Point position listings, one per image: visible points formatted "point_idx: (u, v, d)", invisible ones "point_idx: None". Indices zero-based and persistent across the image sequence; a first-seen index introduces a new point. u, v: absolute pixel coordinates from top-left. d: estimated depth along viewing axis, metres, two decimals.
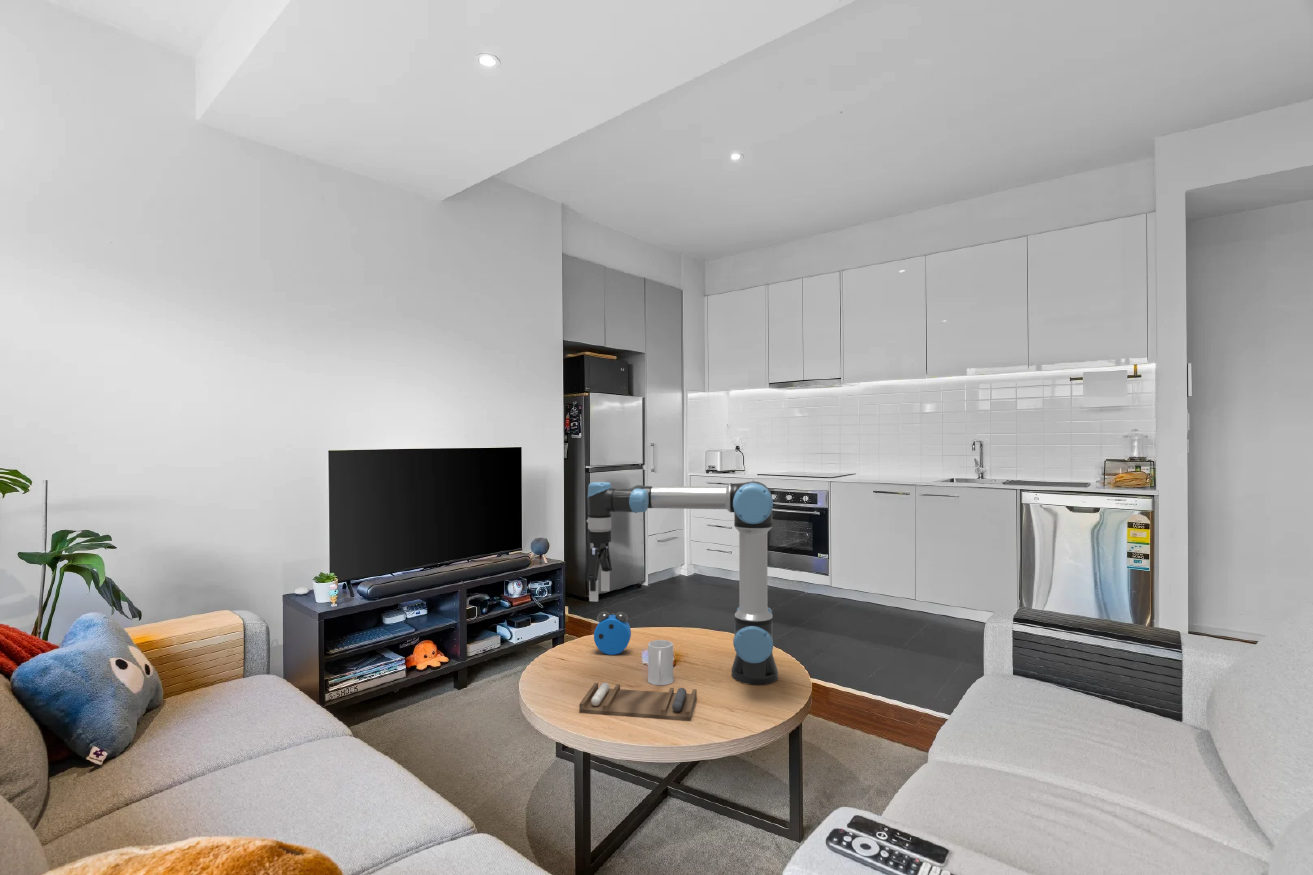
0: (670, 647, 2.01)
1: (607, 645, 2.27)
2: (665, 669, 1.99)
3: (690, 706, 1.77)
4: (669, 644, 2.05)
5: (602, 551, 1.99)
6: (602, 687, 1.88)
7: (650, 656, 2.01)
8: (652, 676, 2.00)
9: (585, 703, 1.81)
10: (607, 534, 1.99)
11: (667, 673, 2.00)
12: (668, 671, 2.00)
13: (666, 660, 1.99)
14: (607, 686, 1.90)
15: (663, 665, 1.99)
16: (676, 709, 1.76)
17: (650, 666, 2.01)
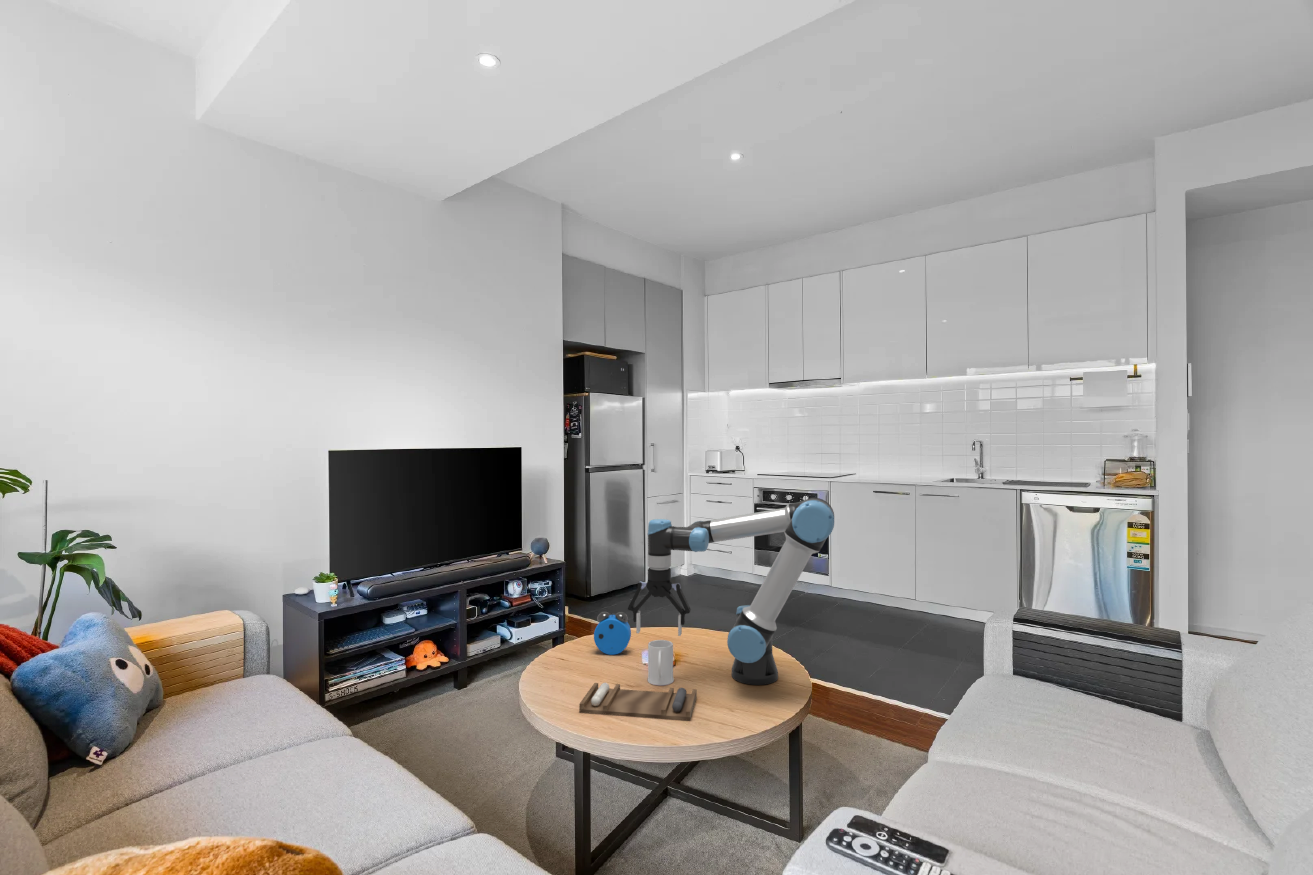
0: (670, 647, 2.01)
1: (607, 645, 2.27)
2: (665, 669, 1.99)
3: (690, 706, 1.77)
4: (669, 644, 2.05)
5: (651, 588, 2.00)
6: (602, 687, 1.88)
7: (650, 656, 2.01)
8: (652, 676, 2.00)
9: (585, 703, 1.81)
10: (651, 572, 1.99)
11: (667, 673, 2.00)
12: (668, 671, 2.00)
13: (666, 660, 1.99)
14: (607, 686, 1.90)
15: (663, 665, 1.99)
16: (676, 709, 1.76)
17: (650, 666, 2.01)
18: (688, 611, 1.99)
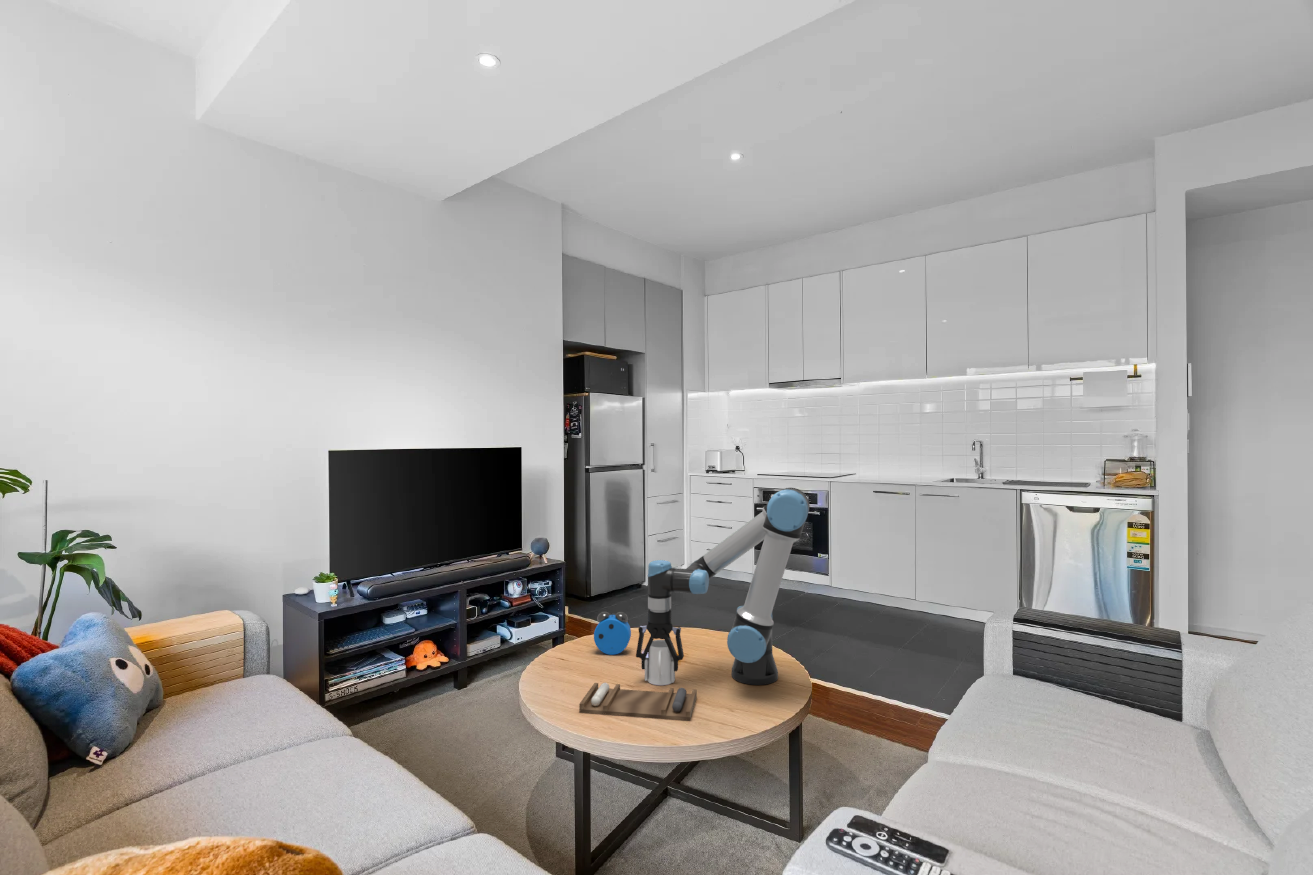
0: None
1: (607, 645, 2.27)
2: (665, 669, 1.99)
3: (690, 706, 1.77)
4: None
5: (652, 630, 2.00)
6: (602, 687, 1.88)
7: (650, 656, 2.01)
8: (652, 675, 2.00)
9: (585, 703, 1.81)
10: (651, 615, 1.99)
11: (667, 673, 2.00)
12: (668, 671, 2.00)
13: (666, 660, 1.99)
14: (607, 686, 1.90)
15: (663, 665, 1.99)
16: (676, 709, 1.76)
17: (650, 666, 2.01)
18: (681, 658, 1.99)
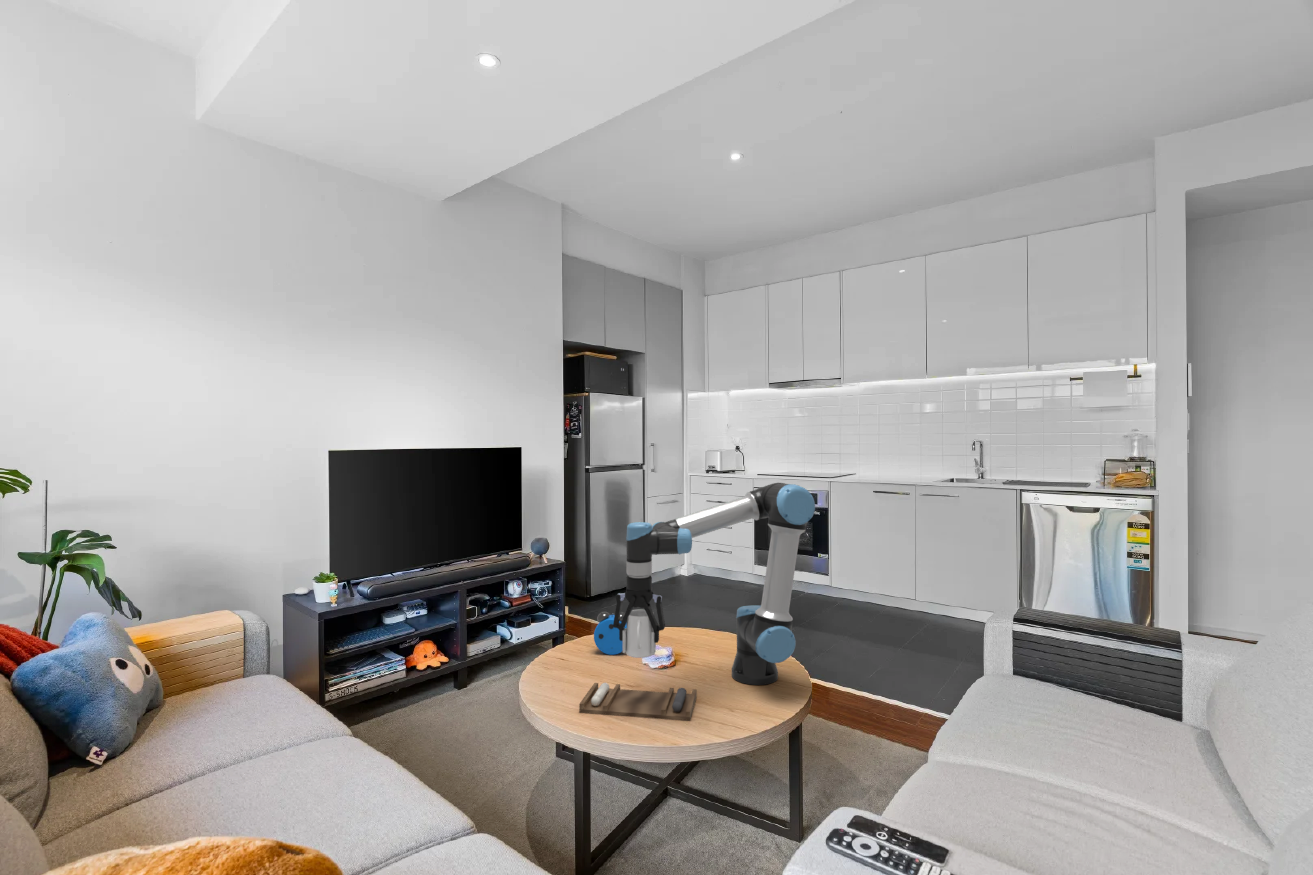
0: None
1: (607, 645, 2.27)
2: (645, 640, 1.83)
3: (690, 706, 1.77)
4: None
5: (631, 598, 1.84)
6: (602, 687, 1.88)
7: (628, 626, 1.84)
8: (630, 647, 1.83)
9: (585, 703, 1.81)
10: (630, 580, 1.82)
11: (647, 645, 1.83)
12: (648, 642, 1.83)
13: (646, 630, 1.83)
14: (607, 686, 1.90)
15: (642, 636, 1.82)
16: (676, 709, 1.76)
17: (628, 637, 1.84)
18: (662, 628, 1.82)
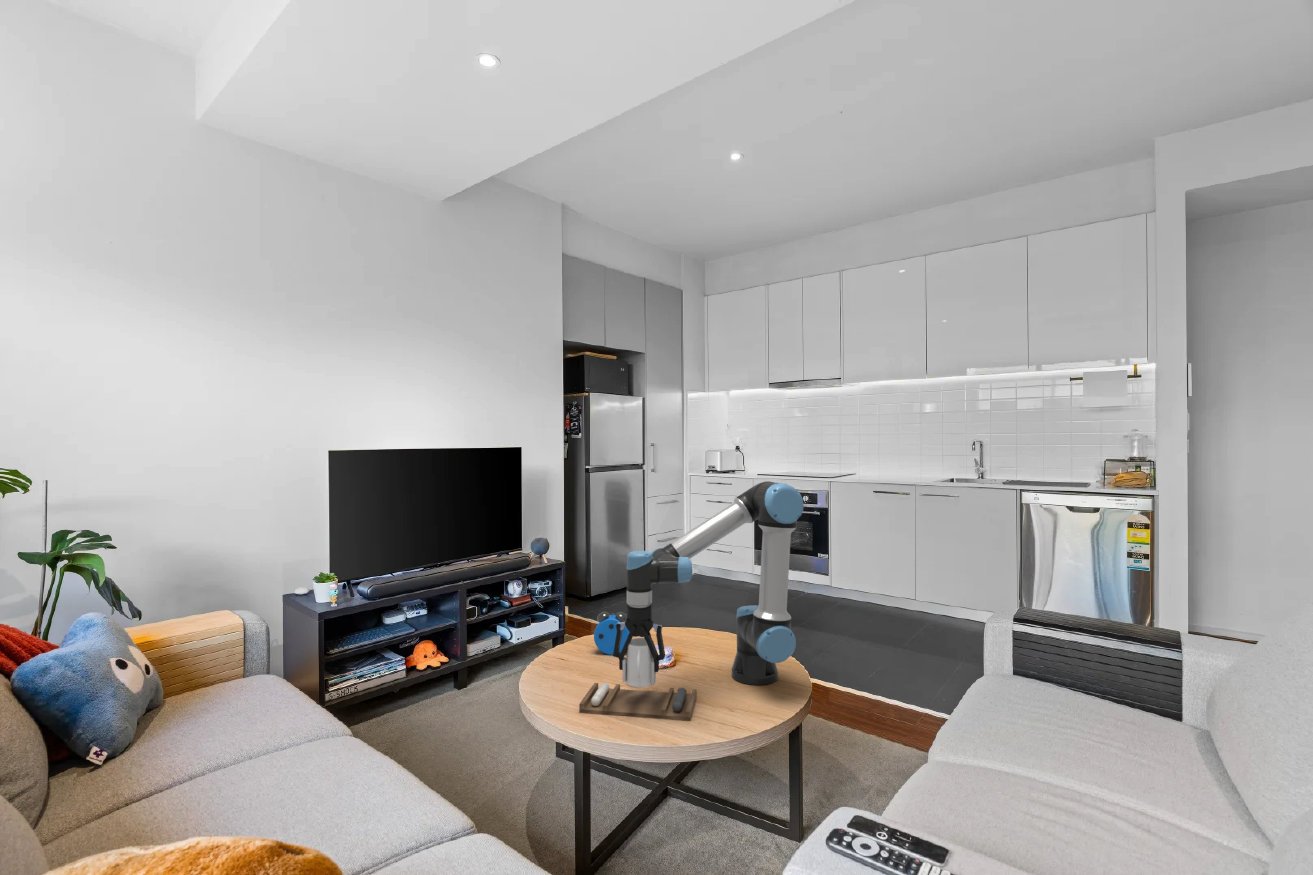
0: None
1: (607, 645, 2.27)
2: (645, 670, 1.82)
3: (690, 706, 1.77)
4: None
5: (631, 627, 1.83)
6: (602, 687, 1.88)
7: (628, 655, 1.84)
8: (630, 677, 1.83)
9: (585, 703, 1.81)
10: (630, 610, 1.82)
11: (647, 674, 1.82)
12: (648, 671, 1.83)
13: (646, 660, 1.82)
14: (607, 686, 1.90)
15: (642, 665, 1.82)
16: (676, 709, 1.76)
17: (628, 666, 1.84)
18: (662, 657, 1.82)
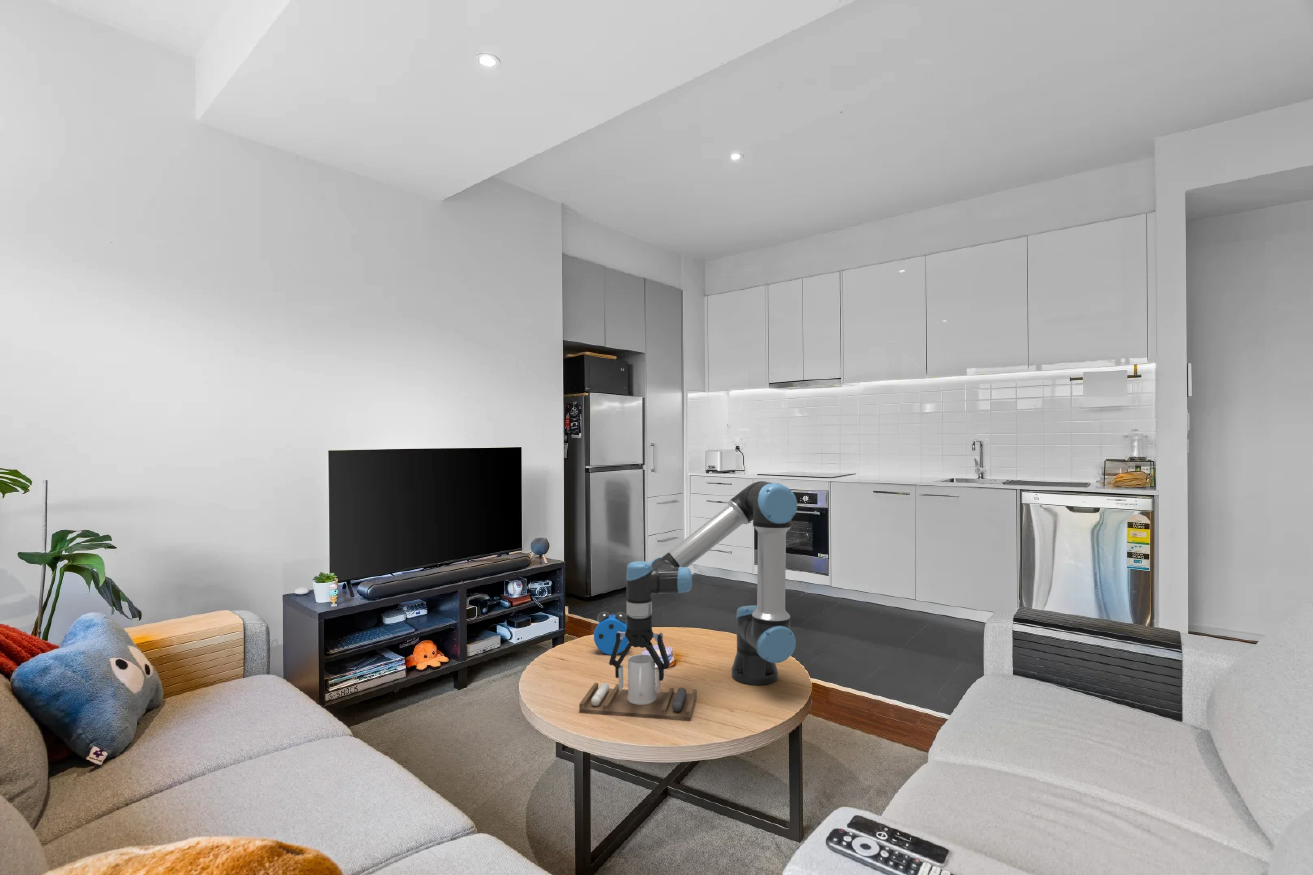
0: (652, 663, 1.84)
1: (607, 645, 2.27)
2: (646, 687, 1.82)
3: (690, 706, 1.77)
4: (651, 659, 1.88)
5: (631, 638, 1.83)
6: (602, 687, 1.88)
7: (630, 673, 1.84)
8: (632, 694, 1.83)
9: (585, 703, 1.81)
10: (630, 621, 1.82)
11: (649, 692, 1.82)
12: (649, 689, 1.83)
13: (647, 677, 1.82)
14: (607, 686, 1.90)
15: (644, 683, 1.82)
16: (676, 709, 1.76)
17: (630, 684, 1.84)
18: (667, 666, 1.82)
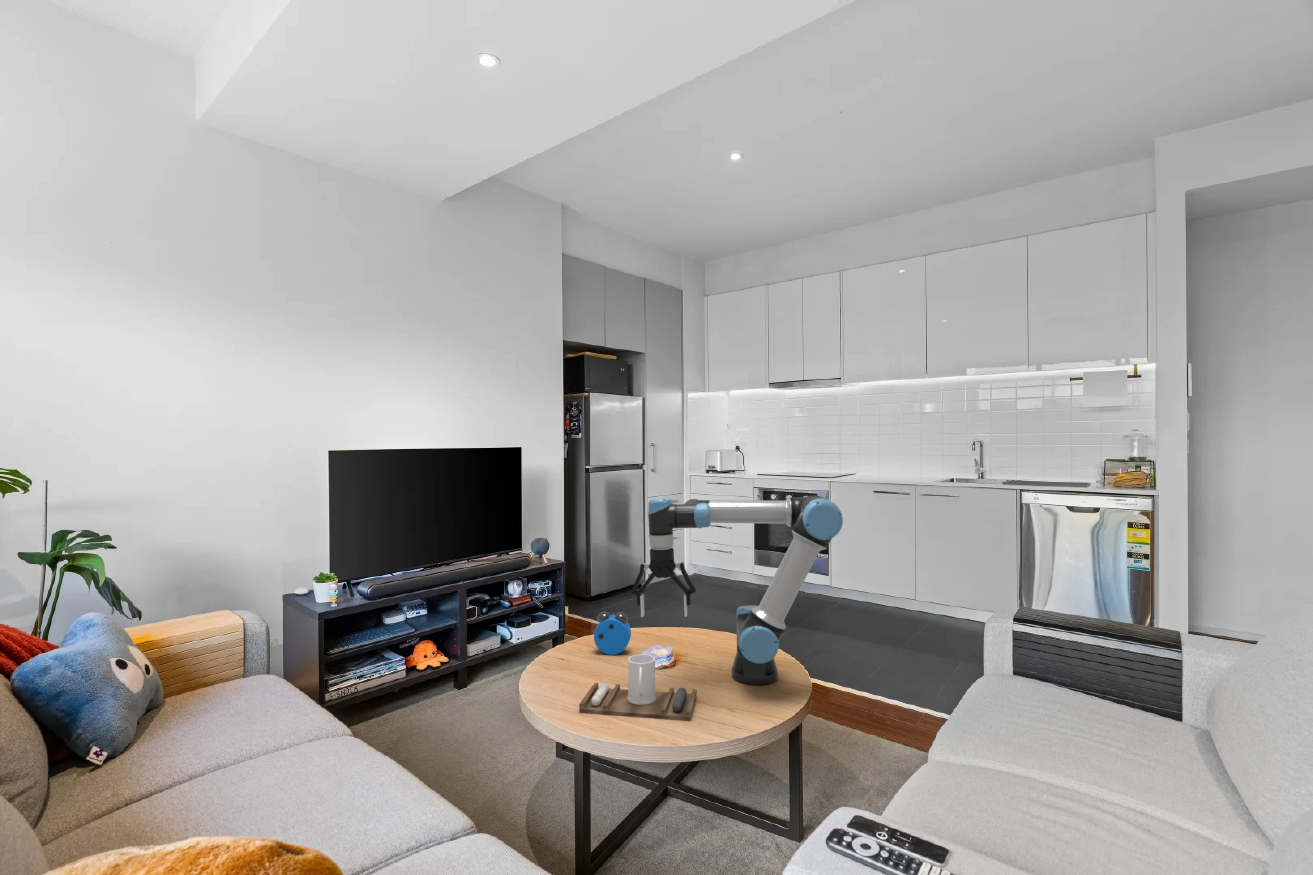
0: (652, 663, 1.84)
1: (607, 645, 2.27)
2: (646, 687, 1.82)
3: (690, 706, 1.77)
4: (651, 659, 1.88)
5: (655, 569, 1.94)
6: (602, 687, 1.88)
7: (630, 673, 1.84)
8: (632, 694, 1.83)
9: (585, 703, 1.81)
10: (654, 553, 1.93)
11: (649, 692, 1.82)
12: (649, 689, 1.83)
13: (647, 677, 1.82)
14: (607, 686, 1.90)
15: (644, 683, 1.82)
16: (676, 709, 1.76)
17: (630, 684, 1.84)
18: (694, 590, 1.93)
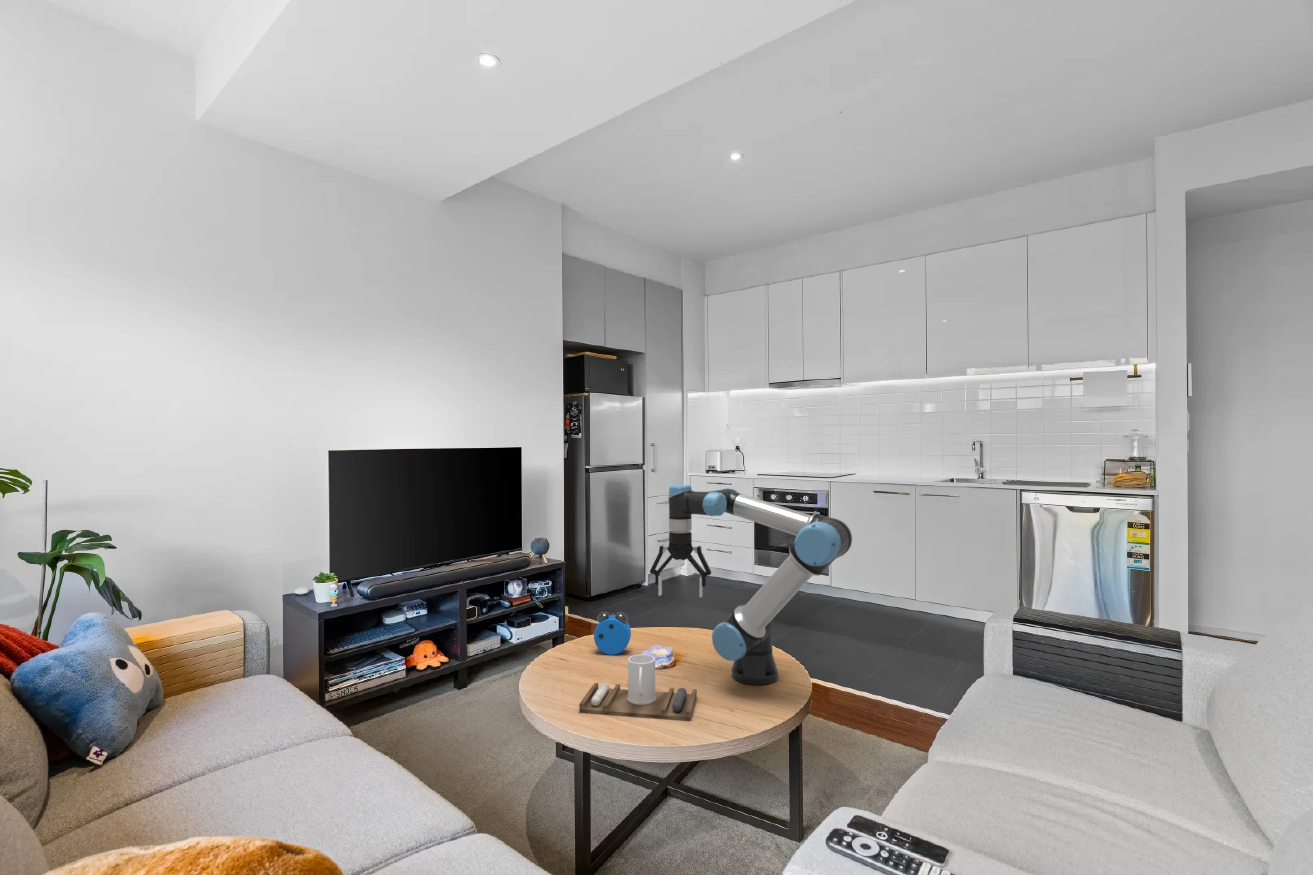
0: (652, 663, 1.84)
1: (607, 645, 2.27)
2: (646, 687, 1.82)
3: (690, 706, 1.77)
4: (651, 659, 1.88)
5: (673, 551, 2.05)
6: (602, 687, 1.88)
7: (630, 673, 1.84)
8: (632, 694, 1.83)
9: (585, 703, 1.81)
10: (673, 535, 2.04)
11: (649, 692, 1.82)
12: (650, 689, 1.83)
13: (647, 677, 1.82)
14: (607, 686, 1.90)
15: (644, 683, 1.82)
16: (676, 709, 1.76)
17: (630, 684, 1.84)
18: (709, 573, 2.04)
